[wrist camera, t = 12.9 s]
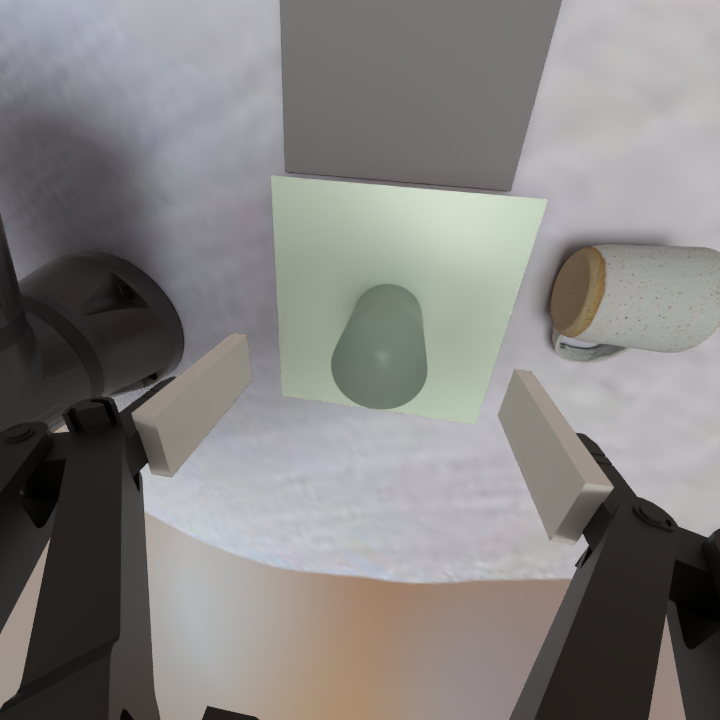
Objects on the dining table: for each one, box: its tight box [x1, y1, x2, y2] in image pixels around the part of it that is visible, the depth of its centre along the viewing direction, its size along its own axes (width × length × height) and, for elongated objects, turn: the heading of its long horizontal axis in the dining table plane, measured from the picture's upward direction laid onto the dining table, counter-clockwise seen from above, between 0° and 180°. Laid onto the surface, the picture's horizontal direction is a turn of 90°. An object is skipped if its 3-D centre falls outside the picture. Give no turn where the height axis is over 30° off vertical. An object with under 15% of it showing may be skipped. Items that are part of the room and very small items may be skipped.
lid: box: [271, 176, 548, 424], centre depth 20 cm, size 17×17×9 cm
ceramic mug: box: [551, 244, 720, 363], centre depth 24 cm, size 11×8×8 cm
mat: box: [280, 0, 562, 191], centre depth 21 cm, size 18×18×1 cm
